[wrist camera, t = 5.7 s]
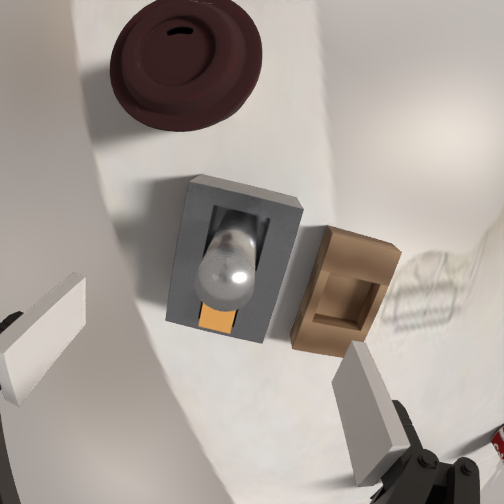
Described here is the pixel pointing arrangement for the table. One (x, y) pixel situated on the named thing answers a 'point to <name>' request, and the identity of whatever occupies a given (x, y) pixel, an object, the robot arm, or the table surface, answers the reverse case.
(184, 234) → the socket block
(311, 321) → the wooden crate
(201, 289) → the peg
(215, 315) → the key
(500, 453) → the soda can
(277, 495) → the table surface
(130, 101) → the coffee cup
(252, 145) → the table surface
